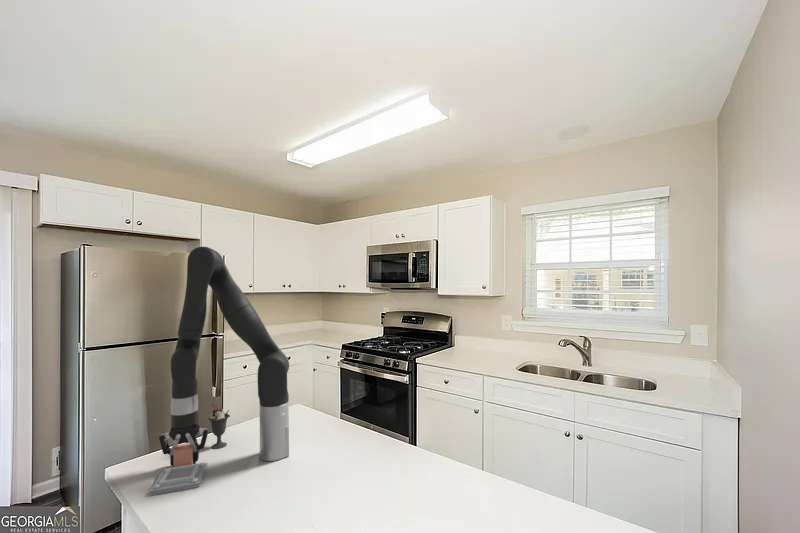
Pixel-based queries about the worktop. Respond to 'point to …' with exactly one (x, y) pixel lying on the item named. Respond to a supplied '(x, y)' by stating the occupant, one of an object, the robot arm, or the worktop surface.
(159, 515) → the worktop surface
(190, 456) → the block
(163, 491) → the plate
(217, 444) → the sundae
